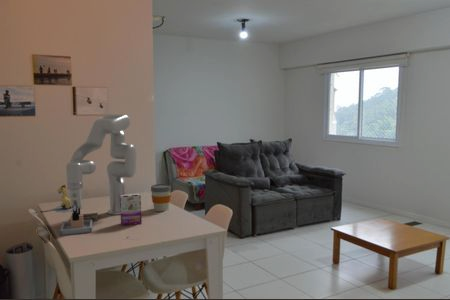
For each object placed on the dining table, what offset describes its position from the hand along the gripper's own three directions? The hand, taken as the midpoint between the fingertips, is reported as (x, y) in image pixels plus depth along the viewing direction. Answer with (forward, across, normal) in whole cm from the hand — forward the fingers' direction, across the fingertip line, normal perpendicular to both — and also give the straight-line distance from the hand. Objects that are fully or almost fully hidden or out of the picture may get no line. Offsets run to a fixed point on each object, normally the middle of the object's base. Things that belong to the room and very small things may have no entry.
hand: (76, 217), depth 200 cm
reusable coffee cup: (+6, +27, -48) cm, 55 cm away
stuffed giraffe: (+7, +48, +9) cm, 49 cm away
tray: (+6, 0, 0) cm, 6 cm away
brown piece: (+6, +18, -3) cm, 19 cm away
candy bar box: (+6, +2, -28) cm, 29 cm away
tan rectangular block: (+6, 0, 0) cm, 6 cm away
